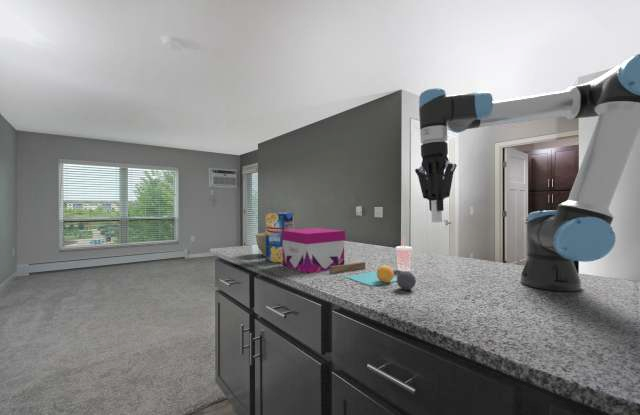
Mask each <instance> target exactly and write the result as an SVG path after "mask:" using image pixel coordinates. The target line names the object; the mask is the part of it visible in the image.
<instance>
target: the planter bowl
mask: <svg viewBox="0 0 640 415" xmlns="http://www.w3.org/2000/svg"><path fill="white" fill-rule="evenodd" d="M255 239H256V244H257V248H258V249H259V250H260V252H261V254H262V256H264V257H266V232H259V233H256V234H255Z"/></svg>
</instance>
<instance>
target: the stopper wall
mask: <svg viewBox="0 0 640 415" xmlns="http://www.w3.org/2000/svg"><path fill="white" fill-rule="evenodd" d="M365 269H366V262H365V261H362V262H361V261H360V262H351V263H347V264H345V263H344V265H337V266H330V270H329V273H330V274H331V275H332V274H340V273H347V272H352V271H353V272H354V271H359V270H365Z"/></svg>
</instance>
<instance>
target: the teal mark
mask: <svg viewBox="0 0 640 415" xmlns="http://www.w3.org/2000/svg"><path fill="white" fill-rule="evenodd" d="M345 278H346V279H349V280H352V281H355V282H357V283H360V284H363V285H365V286H370V287H374V286H379V285H385V284H389V283H391V284H392V283H394V282H395V283H397V277H395V276H393V279H392V280H391V281H390V282H386V283H385V282H381V281H380V280H379V279H378V277H377V271H372V272H365V273H360V274H353V275H347V276H345Z"/></svg>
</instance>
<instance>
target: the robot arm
mask: <svg viewBox="0 0 640 415" xmlns="http://www.w3.org/2000/svg"><path fill="white" fill-rule="evenodd" d="M418 99H419V100H418V102H419V103H418V104H419V106H418V114H419V130H420V131H419V132H420V133H419V135H420V143H421V145H420V156H421V159H422V160H421V165H420V166H419V167H418V168H415V169H414V172H415V173H416V175H417V177H418V181H419V187H420V189H421V194H422V197H423V199H426V200H428V203H429V204H428V205H429V211H430V212H431V223H442V222H443V216H442V215H443V214H442V213H443V212H444V200H445V199H446V198H449V197H450V194H451V190H452V184H453V177H454V172H455V170H456V168H457V167H458V166H457V164H456V163H452V162H450V160H449V158H448V154H449V150H448V149H449V144H448V142H447V140H448V129H449V130H450V131H451V132H453V133H456V134H457V133H459V134H460V133H462V132H465V131H467V130H470V129H478V128H485V127H493V126H500V125H501V126H502V125H508V124H516V123H525V122H531V121H532V122H533V121H540V120H548V119H556V118H562V117H564V118H566V119H567V120H573V119H583V118H593V117H598V119H597V122H596V124H595V126H594V130H593V131H592V135H591V137H590V139H589V143H588V146H587V148H586V151H585V153H584V155H583V158H582V161H581V165H580V166H579V168H578V169H579V170H578V172H577V175H576V176H575V179H574V182H573V185H572V188H571V190H570V192H569V196H568V198H567V200H566V201H563V202H561V203H559V204H558V205H557V208H556V210H555V209H554V210H537V211H531V212H530V213H528V215H527V220H526V242H527V243H526V247H527V248H526V250H527V251H526V256H527V257H526V261H525V264H524V266H523V269H522V270H521V274H520V283H522V284H523V285H525V286H529V287H532V288H535V289H542V290H546V291H548V290H549V291H555V292H577V291H581V290H582V282H581V278H580V275H579V273H578V271H577V268H576V265H575V263H574V262H575V261H576V262H584V263H587V262H588V263H589V262H594V261H598V260H601V259H602V258H604V257H606V256H608V254H609V253H610V252H611V251H612V250H613V248H614V246H615V244H616V239H617V238H616V233H615V232H614V229H613V227H612V226H611V225H612V222H613V221H614V216H613V214H612V213H611V211H610V210H609V208H610V205H611V203H612V200H613V198H614V196H615V193H616V190H617V189H618V185H619V183H620V180H621V177H622V175H623V173H624V170H625V167H626V165H627V163H628V160H629V157H630V155H631V152H632V150H633V148H634V147H633V146H634V145H635V142H636V140H637V137H638V134H639V132H640V53H638V54H636V55H634V56H631V57H629V58H627V59H625V60H624V61H622V62H621V63H620V64H619V65H617V66H615V67H613V68H612V69H611V70H608V72H607V71H606V73H604V74H602V75H600V76H599V77H597V78H595V79H593V80H591V81H588V82H586V83H582V84H579V85H574V86H570V87H568V88H566V90H563V91H562V90H561V91H556V92H549V93H542V94H537V95H530V96H528V95H527V96H522V97H516V98H509V99H503V100H495V101H494V97H493V95H492V93H491V92H490V91H488V90H487V91H475V92H474V91H473V92H468V93H467V92H466V93H459V94H453V95H449V94H448V95H447V93H446V90H445V89H444V88H442V87H433V88H428V89H426V90H423V91H422V92H421V93H420V94H419V98H418Z"/></svg>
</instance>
